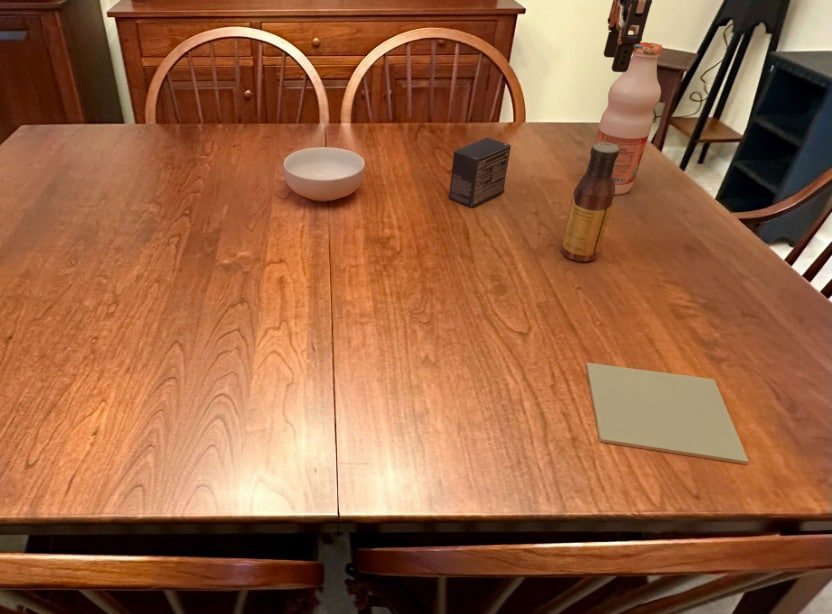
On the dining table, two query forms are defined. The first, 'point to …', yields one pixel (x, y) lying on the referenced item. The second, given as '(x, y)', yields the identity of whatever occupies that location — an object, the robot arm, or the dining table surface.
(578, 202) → the sauce bottle
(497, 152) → the small box
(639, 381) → the mat
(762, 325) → the dining table surface
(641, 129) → the fruit juice
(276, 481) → the dining table surface
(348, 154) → the cereal bowl
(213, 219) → the dining table surface
